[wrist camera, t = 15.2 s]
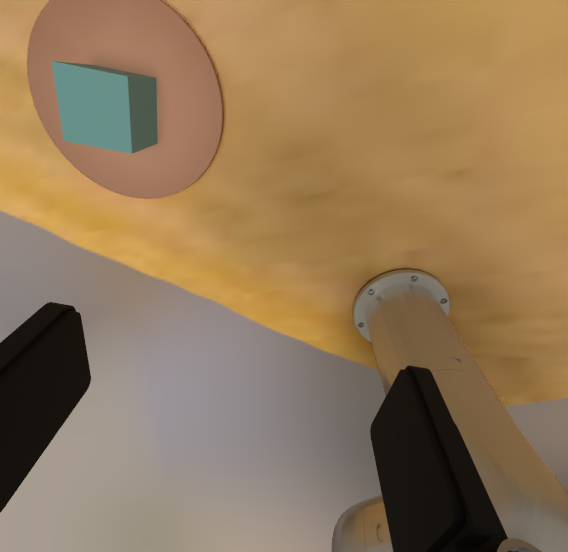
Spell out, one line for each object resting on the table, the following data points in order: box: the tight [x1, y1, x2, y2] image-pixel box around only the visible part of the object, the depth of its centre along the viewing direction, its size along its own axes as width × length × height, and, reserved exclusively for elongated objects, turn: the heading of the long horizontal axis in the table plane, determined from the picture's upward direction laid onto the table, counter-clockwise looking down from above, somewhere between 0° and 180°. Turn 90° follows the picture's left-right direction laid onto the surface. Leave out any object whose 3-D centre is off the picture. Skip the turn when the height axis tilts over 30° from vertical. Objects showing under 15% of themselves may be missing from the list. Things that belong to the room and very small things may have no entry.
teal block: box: [51, 61, 158, 154], centre depth 30 cm, size 6×6×6 cm
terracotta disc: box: [27, 0, 224, 199], centre depth 33 cm, size 19×19×1 cm
